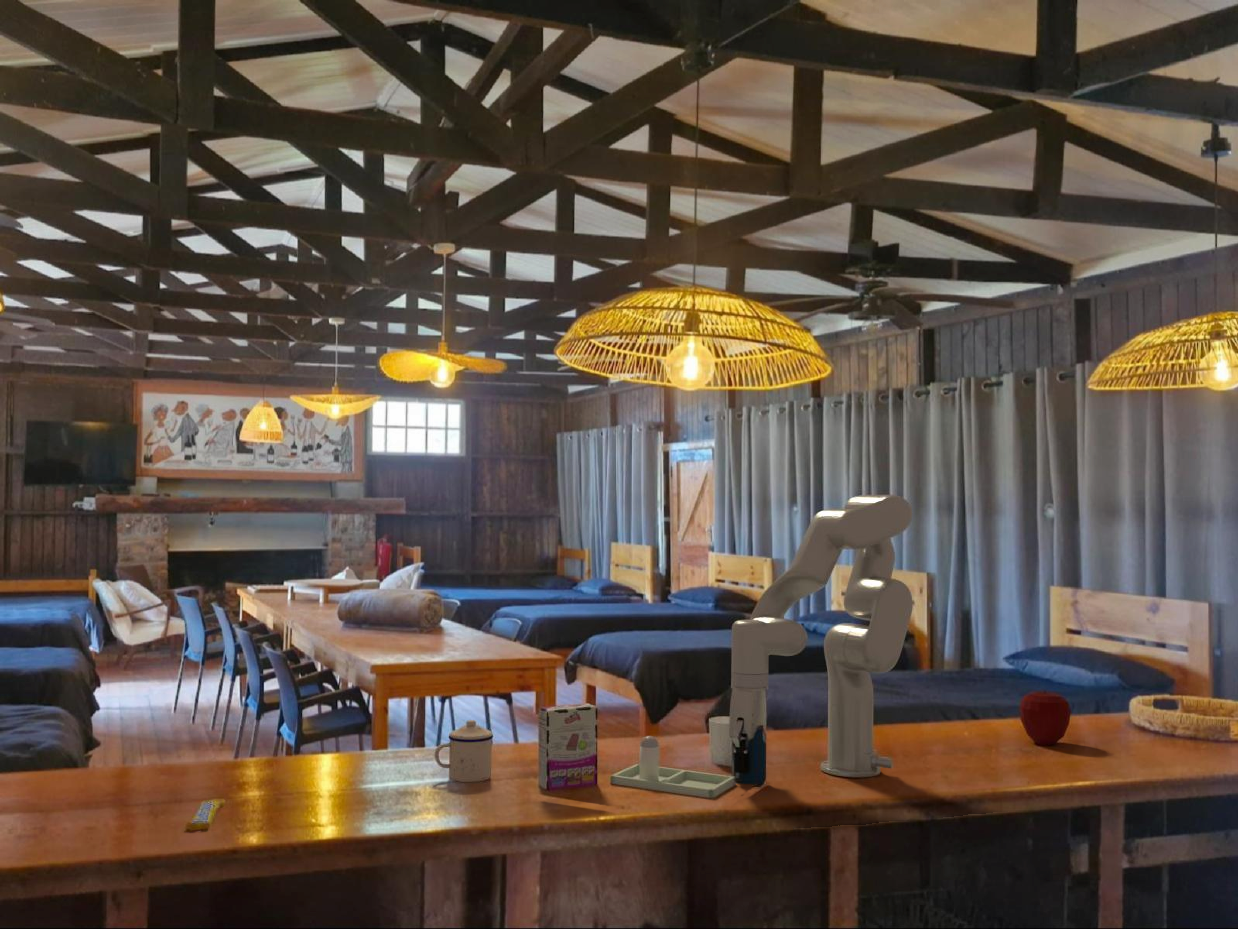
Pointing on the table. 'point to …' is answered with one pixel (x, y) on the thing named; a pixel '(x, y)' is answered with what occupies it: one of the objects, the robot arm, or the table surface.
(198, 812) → the candy bar
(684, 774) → the caddy
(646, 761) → the shaker
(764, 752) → the soda can
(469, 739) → the teacup with lid
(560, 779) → the candy bar box
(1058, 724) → the apple
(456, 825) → the table surface
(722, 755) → the white cup
